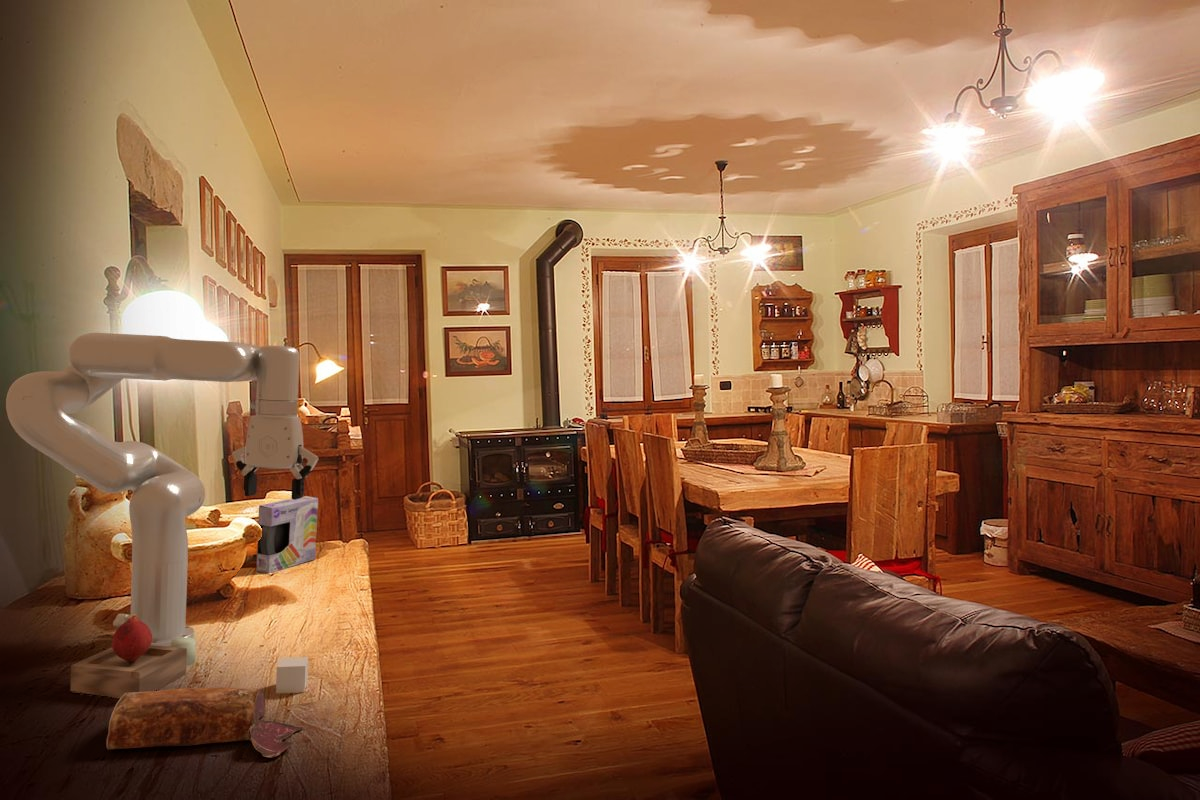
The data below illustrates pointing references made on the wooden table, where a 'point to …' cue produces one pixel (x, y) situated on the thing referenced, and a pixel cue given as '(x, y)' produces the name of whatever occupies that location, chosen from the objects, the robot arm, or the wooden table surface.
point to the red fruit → (132, 639)
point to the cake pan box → (287, 533)
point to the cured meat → (196, 719)
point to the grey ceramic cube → (292, 675)
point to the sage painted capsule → (186, 643)
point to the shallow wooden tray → (128, 672)
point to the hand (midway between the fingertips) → (273, 496)
